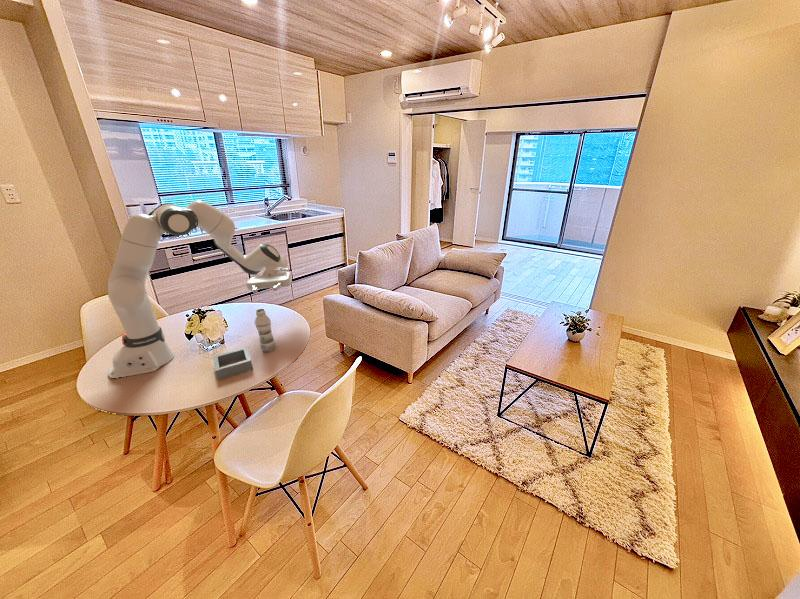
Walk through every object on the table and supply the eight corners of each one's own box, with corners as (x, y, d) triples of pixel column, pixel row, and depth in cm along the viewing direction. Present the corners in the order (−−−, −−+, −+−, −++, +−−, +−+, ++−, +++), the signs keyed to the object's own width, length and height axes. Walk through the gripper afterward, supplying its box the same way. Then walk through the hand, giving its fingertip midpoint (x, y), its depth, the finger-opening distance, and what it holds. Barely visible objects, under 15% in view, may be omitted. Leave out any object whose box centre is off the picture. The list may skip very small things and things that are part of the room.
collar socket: (218, 380, 126) (215, 370, 124) (215, 364, 135) (213, 356, 133) (253, 369, 132) (251, 360, 130) (248, 355, 141) (246, 346, 140)
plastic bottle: (271, 354, 142) (263, 314, 134) (258, 352, 143) (248, 313, 135) (279, 346, 148) (271, 308, 139) (266, 345, 149) (257, 306, 141)
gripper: (249, 272, 153) (239, 286, 142) (291, 267, 154) (285, 282, 142) (253, 283, 157) (244, 298, 145) (295, 279, 157) (289, 294, 146)
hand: (264, 290), depth 144 cm, fingers open, 8 cm apart
